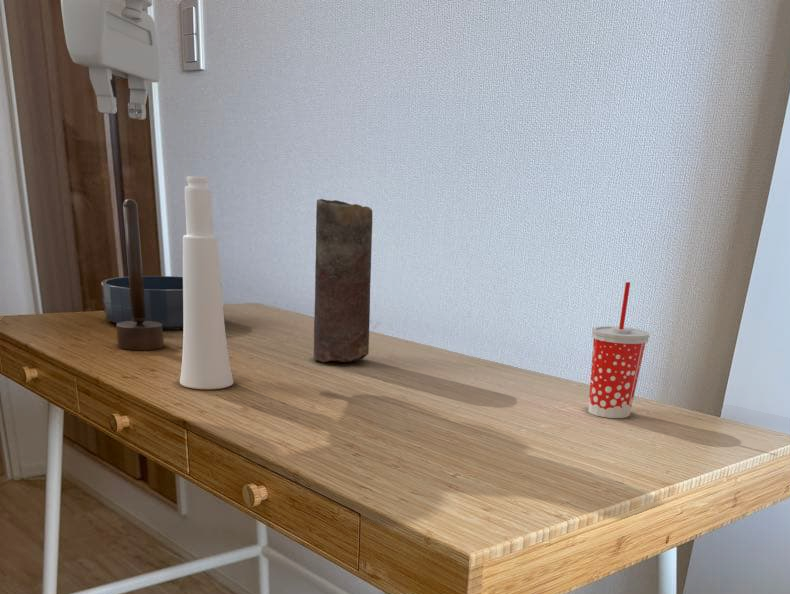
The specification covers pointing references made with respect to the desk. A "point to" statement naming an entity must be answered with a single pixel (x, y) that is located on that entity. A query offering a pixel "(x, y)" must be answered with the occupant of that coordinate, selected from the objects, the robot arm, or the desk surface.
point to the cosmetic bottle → (202, 296)
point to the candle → (342, 281)
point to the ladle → (136, 292)
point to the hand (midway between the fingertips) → (123, 116)
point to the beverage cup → (615, 366)
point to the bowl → (146, 300)
